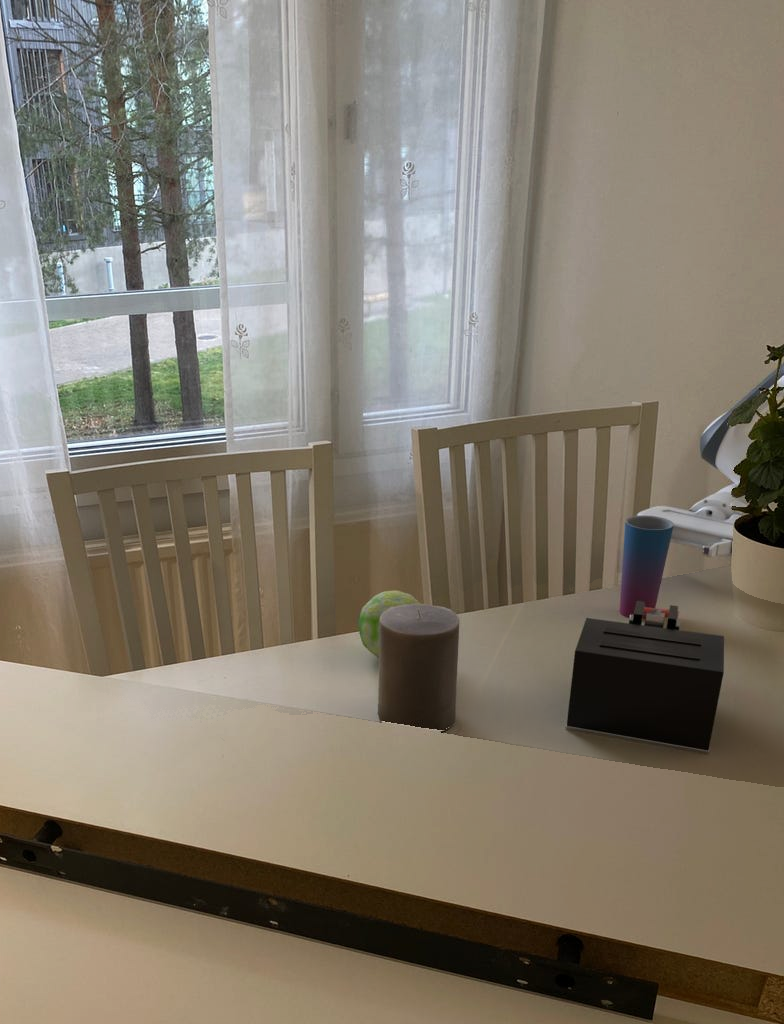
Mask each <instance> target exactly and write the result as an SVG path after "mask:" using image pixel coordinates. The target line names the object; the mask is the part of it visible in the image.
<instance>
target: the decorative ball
mask: <svg viewBox="0 0 784 1024" xmlns="http://www.w3.org/2000/svg"><path fill="white" fill-rule="evenodd" d="M408 604H411V605H412V604H421V603H420V601H418V600H417V598H415V597H414V596H413V595H412V594H410V593H406V592H403V591H400V590H385V591H381V592H380V593H377V594H376V595H374V596H373V597H372V598H371V599H370V600H369V601H367V602H366V604H365V605H363V607H362V608H361V611H360V615H359V621H358V631H359V636H360V639H361V642H362V645H363V647H365V649H366V650H368V651H369V652H370V653H371V654H372V655H373V656H375V657H376V658H379V629H380V616H381V615H382V614H383V612H385V611H387V609H388V608H390V607H396V606H401V605H408Z"/></svg>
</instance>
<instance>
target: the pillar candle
mask: <svg viewBox="0 0 784 1024" xmlns="http://www.w3.org/2000/svg"><path fill="white" fill-rule="evenodd" d="M459 639H460V618H459V616H458V615H457V613H456V612H454V611H453V610H452V609H451V608H446V607H444V606H440V605H432V604H425V603H420V604H412V605H411V604H408V605H401V606H396V607H390V608H388V609H387V611H385V612H383V614H382V615H381V616H380V629H379V657H378V695H377V701H378V702H377V715H378V719H379V721H380V720H381V721H385V722H391V723H397V724H404V725H410V726H415V727H421V728H429V729H437V730H446V728H448V727H450V726H451V727H452V726H453V725H454V724H453V723H455V720H456V709H457V707H456V705H457V689H458V688H457V685H458V665H459V664H458V662H459V659H458V658H459V641H460V640H459ZM381 721H380V722H381ZM452 724H453V725H452ZM451 727H450V728H451ZM446 731H447V730H446Z"/></svg>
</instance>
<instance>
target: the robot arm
mask: <svg viewBox="0 0 784 1024" xmlns="http://www.w3.org/2000/svg"><path fill="white" fill-rule="evenodd" d="M779 366H780V369H779V372H778V377H777V384H778V386H779V387H784V362H783V363H781V364H780V365H779ZM776 370H777V368H775V369H774V370H773V371H772V372H771V373H769V374H768V375H767V376H766V377H765V378H764V379H762V381H760V382H759V383H758V384H757V385H756V386H754V388H752V389H751V390H750V391H749V392H748V393H747V394H746V395H744V396H743V398H741V399H740V400H739V401H737V403H736V404H735V405H734V406H732V407H731V408H730V409H729V410H728V411H726V412H724V413H722V414H721V415H719V416H718V417H717V418H716V419H714V420H713V421H711V422H710V424H709V425H708V426H707V427H706V428H705V429H704V431H703V433H702V434H701V436H700V437H699V451H700V457H701V459H702V460H703V461H705V462H706V463H708V464H709V465H711V466H712V467H713V468H715V469H716V470H719V471H720V472H721V473H722V474H723V475H725V476H726V477H727V478H728V479H729V480H730V481H731V482H733V483H731V484H729V485H727V486H724V487H723V488H721V489H719V490H718V491H716V492H715V493H712V494H710V495H708V496H707V497H705V498H702V499H701V500H699V501H697V502H695V504H694V505H693V506H691V507H690V509H689V510H687V509H683V508H677V507H674V506H673V507H672V506H668V505H656V506H653V507H649V508H647V509H643V510H641V511H640V512H638V513H637V515H636V516H656V517H661V518H665V519H668V520H670V521H672V522H673V524H674V527H673V531H672V535H671V540H670V543H674V544H678V545H683V546H686V547H690V548H695V549H698V550H699V549H700V550H702V556H703V557H707V558H711V559H712V558H714V557H716V556H724V555H725V556H728V557H732V541H733V526H734V522H735V520H736V519H738V518H739V517H741V516H742V515H743V514H742V513H741V512H738V511H734V510H732V509H731V507H732V506H736V507H747V501H746V499H744V498H733V497H732V495H731V491H732V489H733V488H735V487H736V486H738V484H739V483H740V476H739V475H737V474H735V473H734V471H733V470H734V467H735V466H736V465H738V464H739V463H740V462H741V461H742V460H743V459H744V458H745V456H746V453H747V449H748V447H749V445H750V444H751V443H752V440H751V439H750V438H749V437H748V434H749V431H750V430H751V428H752V427H753V425H754V424H755V422H757V421H758V416H757V415H754V417H753V421H752V423H749V424H746V425H744V424H741V425H736V426H733V427H728V426H727V423H728V418H729V416H730V414H731V413H732V411H733V410H734V409H735V408H737V407H738V406H740V405H741V404H742V403H744V402H745V401H747V400H748V399H750V398H752V397H754V396H758V395H760V390H759V388H765V389H769V390H771V389H772V388H773V387H774V383H775V376H776ZM783 397H784V390H783V391H780V392H779V393H778V394H777V396H776V400H777V402H778V401H780V399H782V398H783ZM769 409H770V408H769V405H768V401H765V402H764V403H763V404H762V405H761V406H759V407H758V409H757V411H758V412H759V413H760V414H762V415H763V414H764V413H765V412H766V411H768V410H769Z"/></svg>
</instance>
